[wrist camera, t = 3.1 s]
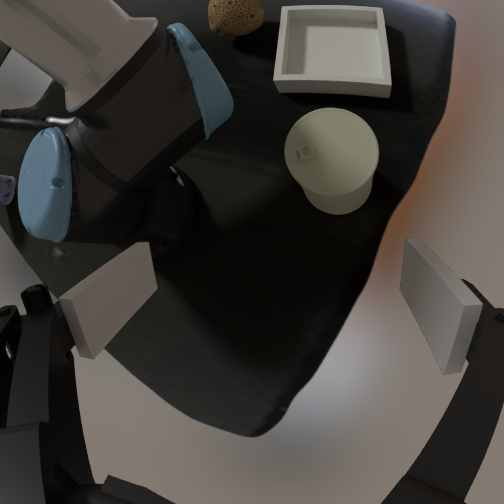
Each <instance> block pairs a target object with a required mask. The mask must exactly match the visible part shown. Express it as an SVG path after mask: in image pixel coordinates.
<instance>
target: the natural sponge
mask: <svg viewBox="0 0 504 504" xmlns="http://www.w3.org/2000/svg"><path fill="white" fill-rule="evenodd" d="M208 17H209V25H210V28H211V30H212V32H213V33H215V34H217V35H219V36H230V35H235V36H241V35H246V34H249V33H251V32H253V31H254V30H256V29H257V28H259V27H260V26H261V25H262V23H263V21H264V11H263V9H262V6H261V3H260V2H259V0H211V1H210V4H209V7H208Z"/></svg>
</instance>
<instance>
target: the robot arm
mask: <svg viewBox="0 0 504 504" xmlns="http://www.w3.org/2000/svg"><path fill="white" fill-rule="evenodd" d="M0 40H1V41H3V42H4V43H5V44H7V45H8V46H10V47H11V48H12V49H14V50H15V51H17V52H18V53H19V54H21V55H22V56H23V57H25V58H26V59H27V60H29V61H30V62H31V63H33V64H34V65H35V66H37V67H38V68H40V69H41V70H42V71H44V72H45V73H46V74H48V75H49V76H50V77H52V78H53V79H54V80H56V81H57V82H58V83H60V84H61V85H62V86H63V87H64V89H65V98H66V109H67V110H68V111H69V112H70V113H72V114H73V115H74V116H76V118H75V119H74V120H73V121H72V122H71V123H70V124H69V126H68V127H67V128H66V129H65V130H64V131H62V130H61V129H60V128H57V127H55V128H47V129H46V130H42V131H41V132H39V133H38V134H37V136H36V137H35V138H34V139H33V141H32V142H31V144H30V146H29V148H28V150H27V152H26V155H25V157H24V160H23V163H22V167H21V171H20V176H19V184H18V206H19V212H20V216H21V219H22V222H23V224H24V226H25V228H26V229H27V231H28V232H29V233H30V234H31V235H33V236H35V237H37V238H41V239H48V240H52V241H54V242H78V243H97V244H113V245H115V246H117V247H118V248H120V249H122V250H123V252H122V253H120V254H119V255H118V256H116V257H115V258H113V259H112V260H110V261H109V262H108V263H106V264H105V265H103V266H102V267H100V268H99V269H98V270H96V271H95V272H93V273H92V274H91V275H89V276H88V277H86V278H85V279H84V280H82V281H81V282H80V283H78V284H77V285H76V286H74V287H73V288H71V289H70V290H69V291H67V292H66V293H65V294H63V295H62V296H61V297H59V301H57V302H56V303H55V304H54V305H53V302H52V299H51V296H50V293H49V290H48V287H47V285H46V284H37V285H34V286H31V287H29V288H27V289H25V290H24V291H23V292H22V293H21V294H20V295H21V298H22V300H23V304H24V306H25V309H26V312H27V314H26V315H20V314H19V311H18V309H17V306H15V305H9V306H7V305H6V306H4V307H2V308H0V504H175V503H173V502H171V501H169V500H167V499H165V498H163V497H162V496H160V495H158V494H156V493H154V492H152V491H151V490H149V489H147V488H146V487H143V486H139V485H136V484H132V483H130V482H127V481H124V480H121V479H119V478H116V477H113V476H110V475H108V476H107V478H106V480H105V482H104V484H95V481H94V479H93V475H92V471H91V467H90V463H89V459H88V454H87V449H86V445H85V440H84V435H83V429H82V423H81V417H80V410H79V403H78V396H77V389H76V388H77V387H76V379H75V367H74V357H73V354H72V352H71V349H72V347H74V346H75V345H76V347H77V350H78V352H79V355H80V356H81V357H85V358H89V359H94V358H95V357H96V356H97V355H98V354H99V353H100V352H101V350H102V349H103V348H104V347H105V346H106V345H107V344H108V343H109V341H110V340H111V339H112V338H113V337H114V336H115V335H116V334H117V332H118V331H119V330H120V329H121V328H122V327H123V326H124V325H125V323H126V322H127V321H128V320H129V319H130V318H131V317H132V316H133V315H134V314H135V312H136V311H137V310H138V309H139V308H140V307H141V306H142V305H143V304H144V303H145V302H146V300H147V299H148V298H149V297H150V296H151V295H152V294H153V293H154V292H155V291H156V290H157V284H156V279H155V274H154V269H153V263H152V259H156V258H161V257H164V256H166V255H168V254H170V253H172V252H173V251H175V250H176V249H177V248H178V247H179V246H180V245H181V244H182V243H183V241H184V240H185V239H186V237H187V235H188V233H189V231H190V229H191V227H192V224H193V221H194V216H195V208H196V201H195V194H194V190H193V187H192V184H191V182H190V180H189V179H188V177H187V176H186V175H185V173H184V172H182V171H181V170H180V169H179V168H177V167H175V166H173V165H174V164H175V163H176V162H177V161H178V160H179V159H180V158H182V157H183V156H184V155H185V154H186V153H187V152H189V151H190V150H191V149H192V148H193V147H195V146H196V145H197V144H198V143H199V142H201V141H202V140H203V139H205V140H207V139H208V138H209V137H210V134H211V133H212V132H213V131H214V130H215V129H216V128H218V127H219V126H220V125H221V124H222V123H223V122H225V121H226V120H227V119H228V118H229V117H230V116H231V114H232V111H233V107H234V104H233V99H232V96H231V93H230V91H229V89H228V87H227V86H226V84H225V82H224V80H223V78H222V77H221V75H220V73H219V72H218V70H217V68H216V67H215V65H214V64H213V62H212V61H211V59H210V58H209V56H208V55H207V53H206V52H205V51H204V50H203V49H202V48H201V46H200V44H199V43H198V42H197V40H196V39H195V37H194V36H193V34H192V33H191V32H190V31H189V30H188V29H187V28H186V27H185V26H184V25H183V24H181V23H175V24H173V25H169V26H168V27H167V29H166V28H165V27H164V26H163V25H162V24H161V23H160V22H159V21H158V20H157V19H156V18H133V17H130V16H129V15H128V14H127V13H126V12H124V11H123V10H122V9H121V8H120V7H119V6H118V5H117V4H116V3H115V2H114V1H113V0H0ZM400 291H401V292H402V294H403V296H404V298H405V300H406V302H407V304H408V305H409V307H410V309H411V311H412V313H413V315H414V317H415V318H416V320H417V322H418V324H419V326H420V328H421V330H422V332H423V334H424V336H425V338H426V340H427V342H428V344H429V346H430V348H431V350H432V352H433V354H434V356H435V359H436V361H437V363H438V365H439V367H440V369H441V371H442V374H451V373H457V372H461V370H462V367H463V365H464V362H465V359H467V361H468V363H469V364H468V367H467V369H466V371H465V373H464V376H463V378H462V380H461V382H460V384H459V386H458V388H457V390H456V392H455V394H454V396H453V398H452V400H451V402H450V404H449V406H448V408H447V409H446V411H445V413H444V415H443V417H442V419H441V420H440V422H439V424H438V425H437V427H436V429H435V431H434V432H433V434H432V435H431V437H430V439H429V440H428V442H427V444H426V445H425V447H424V448H423V450H422V451H421V453H420V455H419V456H418V457H417V459H416V460H415V462H414V463H413V464H412V466H411V467H410V469H409V470H408V471H407V473H406V474H405V475H404V476H403V477H402V478H401V480H400V481H399V482H398V483H397V484H396V486H395V487H394V488H393V489H392V491H391V492H390V493H389V494H388V496H387V497H386V498H385V499H384V501H383V502H382V503H381V504H466V503H465V502H464V500H465V497H466V495H467V493H468V491H469V489H470V487H471V485H472V483H473V481H474V479H475V477H476V475H477V472H478V470H479V468H480V466H481V464H482V461H483V459H484V457H485V454H486V452H487V449H488V447H489V444H490V442H491V439H492V436H493V433H494V431H495V428H496V425H497V422H498V419H499V416H500V413H501V409H502V406H503V403H504V309H503V308H494V307H493V306H492V305H491V304H490V303H489V301H488V300H487V299H486V298H485V297H484V296H483V295H482V294H481V293H480V292H479V291H478V290H477V289H476V288H475V286H474V285H473V284H471V283H469V282H468V281H466V280H464V279H460V278H459V277H458V276H457V275H456V274H455V273H454V272H453V271H452V270H451V269H450V268H449V267H448V266H447V265H446V264H445V263H444V262H443V261H442V260H441V259H440V258H439V257H438V256H437V255H436V254H435V253H434V252H433V251H432V250H431V249H430V248H429V247H428V246H427V245H426V244H425V243H424V242H422V240H420V239H419V238H406V239H405V248H404V258H403V268H402V275H401V283H400ZM6 346H7V349H8V351H9V353H10V355H11V357H10V358H9V356H8V355H7V351H6Z"/></svg>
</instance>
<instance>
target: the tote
mask: <svg viewBox="0 0 504 504" xmlns="http://www.w3.org/2000/svg"><path fill="white" fill-rule="evenodd" d="M273 81H274V83H275V85H276V87H277V89H278V91H279V93H331V94H349V95H362V96H373V97H383V98H389V97H390V92H391V86H392V84H391V72H390V62H389V53H388V44H387V37H386V30H385V23H384V17H383V11H382V8H375V7H363V6H343V5H306V6H286V7H282V12H281V20H280V29H279V37H278V46H277V54H276V62H275V71H274V79H273Z"/></svg>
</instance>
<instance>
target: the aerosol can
mask: <svg viewBox="0 0 504 504" xmlns="http://www.w3.org/2000/svg"><path fill="white" fill-rule="evenodd" d="M14 192H15V179H14V177H12V176H11V177H9V176H4V175H0V203H4V204H6V205H7V204H9V203H10V202H11V201H12V198H13V196H14Z"/></svg>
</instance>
